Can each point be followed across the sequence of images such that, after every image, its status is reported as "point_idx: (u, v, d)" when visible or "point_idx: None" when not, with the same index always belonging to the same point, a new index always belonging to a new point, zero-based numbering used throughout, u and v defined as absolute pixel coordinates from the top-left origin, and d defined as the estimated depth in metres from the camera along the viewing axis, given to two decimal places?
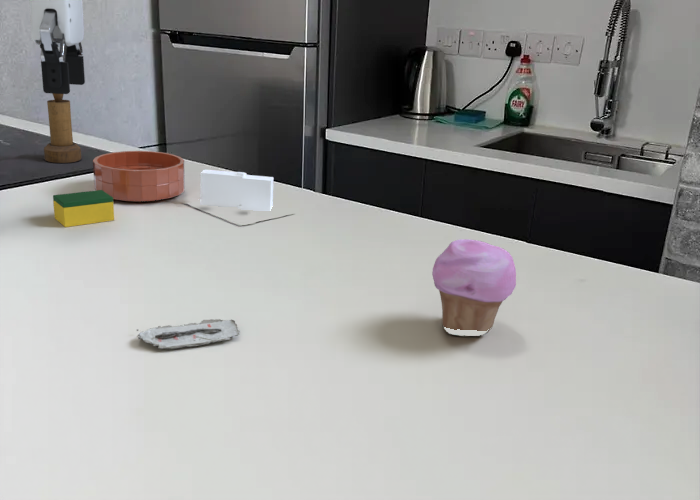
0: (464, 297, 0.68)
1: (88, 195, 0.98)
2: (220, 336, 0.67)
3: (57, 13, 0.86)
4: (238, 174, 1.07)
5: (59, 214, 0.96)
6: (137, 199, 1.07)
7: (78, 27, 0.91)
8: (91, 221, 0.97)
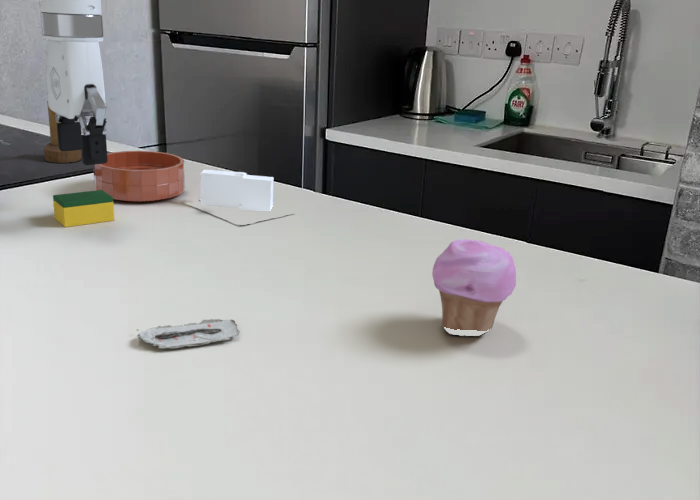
0: (464, 297, 0.68)
1: (88, 195, 0.98)
2: (220, 336, 0.67)
3: (96, 88, 0.89)
4: (238, 174, 1.07)
5: (59, 214, 0.96)
6: (137, 199, 1.07)
7: None
8: (91, 221, 0.97)
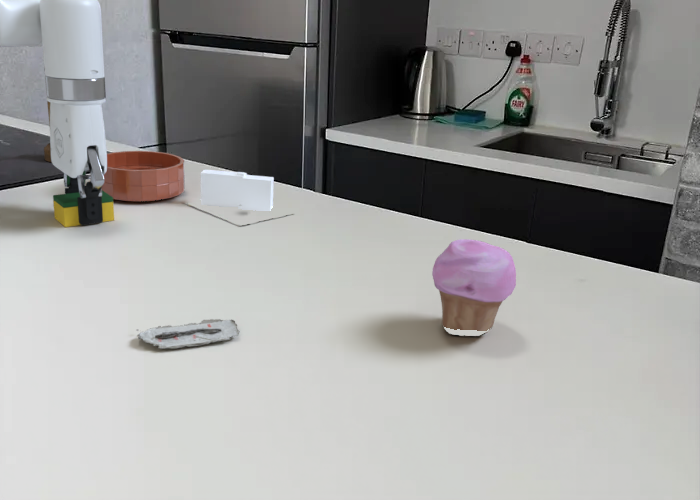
0: (464, 297, 0.68)
1: None
2: (220, 336, 0.67)
3: (98, 148, 0.92)
4: (238, 174, 1.07)
5: (59, 214, 0.96)
6: (137, 199, 1.07)
7: None
8: None
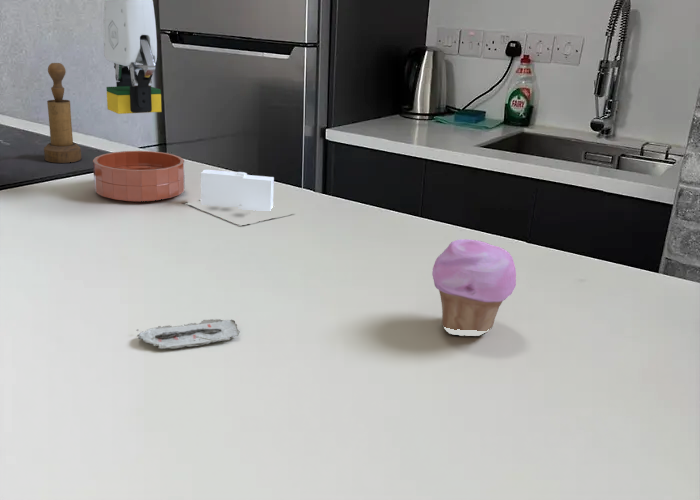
0: (464, 297, 0.68)
1: None
2: (220, 336, 0.67)
3: (150, 38, 1.01)
4: (238, 174, 1.07)
5: (112, 103, 1.05)
6: (137, 199, 1.07)
7: None
8: None
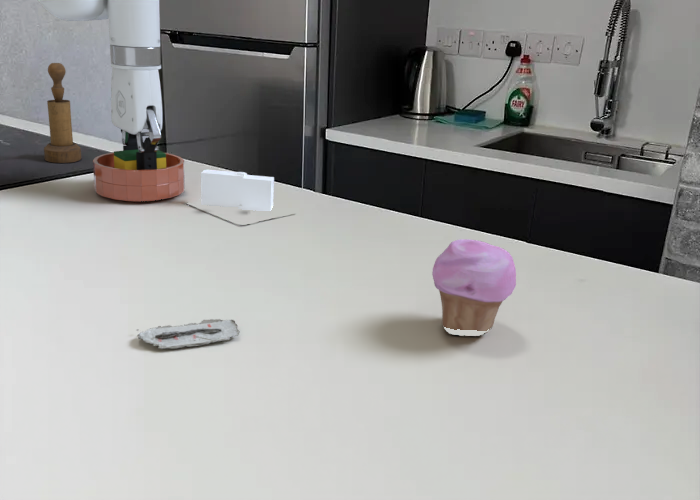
0: (464, 297, 0.68)
1: None
2: (220, 336, 0.67)
3: (155, 108, 1.06)
4: (239, 174, 1.07)
5: (120, 167, 1.10)
6: (137, 199, 1.07)
7: None
8: None
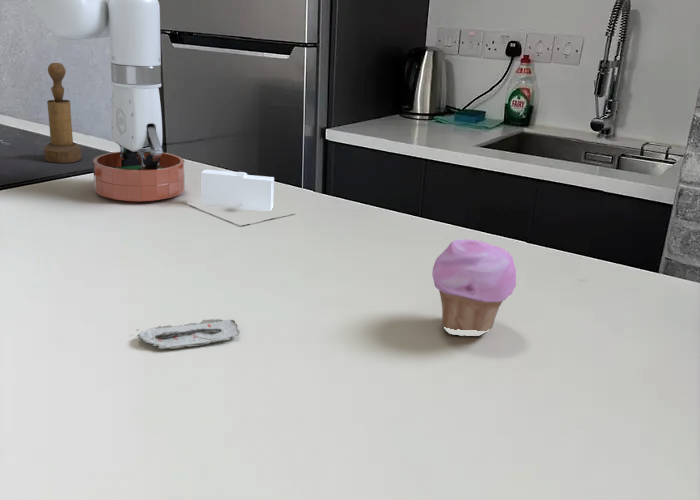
0: (464, 297, 0.68)
1: None
2: (220, 336, 0.67)
3: (156, 126, 1.07)
4: (239, 174, 1.07)
5: None
6: (137, 199, 1.07)
7: None
8: None
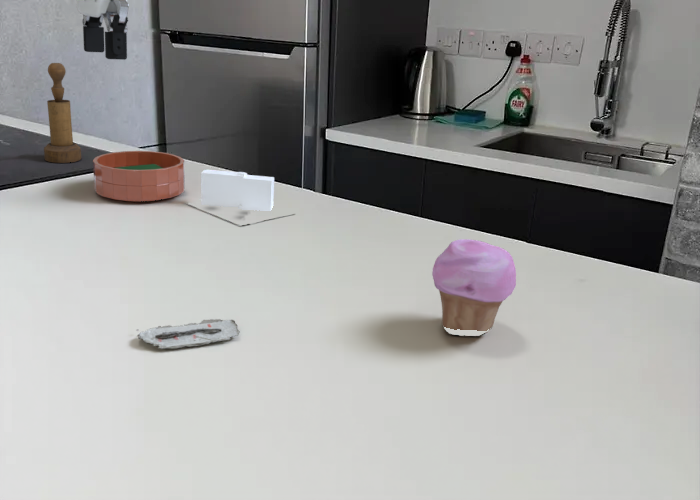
0: (464, 297, 0.68)
1: (145, 168, 1.13)
2: (220, 336, 0.67)
3: None
4: (239, 174, 1.07)
5: None
6: (137, 199, 1.07)
7: None
8: None
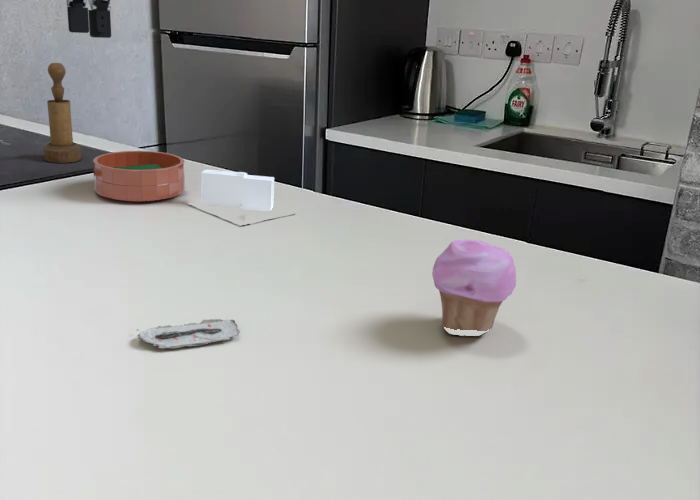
0: (464, 297, 0.68)
1: (145, 168, 1.13)
2: (220, 336, 0.67)
3: None
4: (239, 174, 1.07)
5: None
6: (137, 199, 1.07)
7: None
8: None
